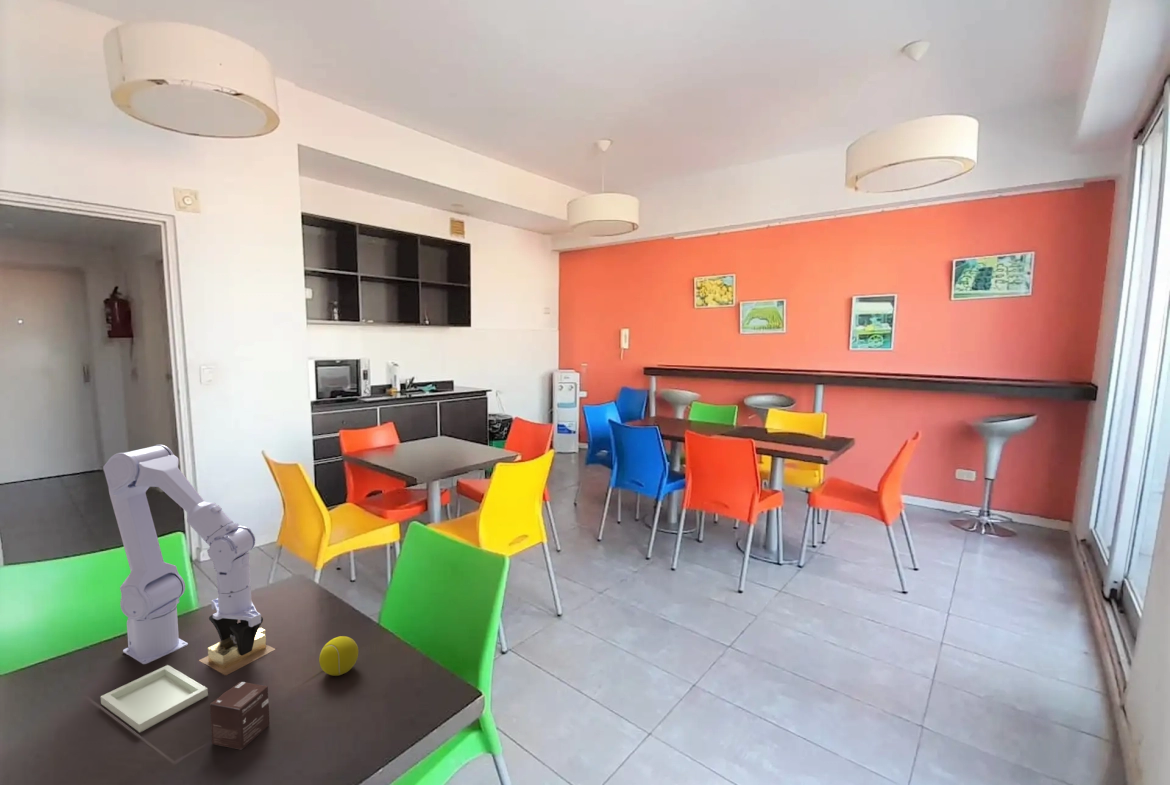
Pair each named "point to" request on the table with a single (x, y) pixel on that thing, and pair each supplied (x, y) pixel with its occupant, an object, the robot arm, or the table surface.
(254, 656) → the stake base
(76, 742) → the table surface
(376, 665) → the table surface
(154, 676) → the tray
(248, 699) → the box
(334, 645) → the tennis ball
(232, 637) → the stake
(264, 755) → the table surface
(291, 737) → the table surface
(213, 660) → the gold hollow block
